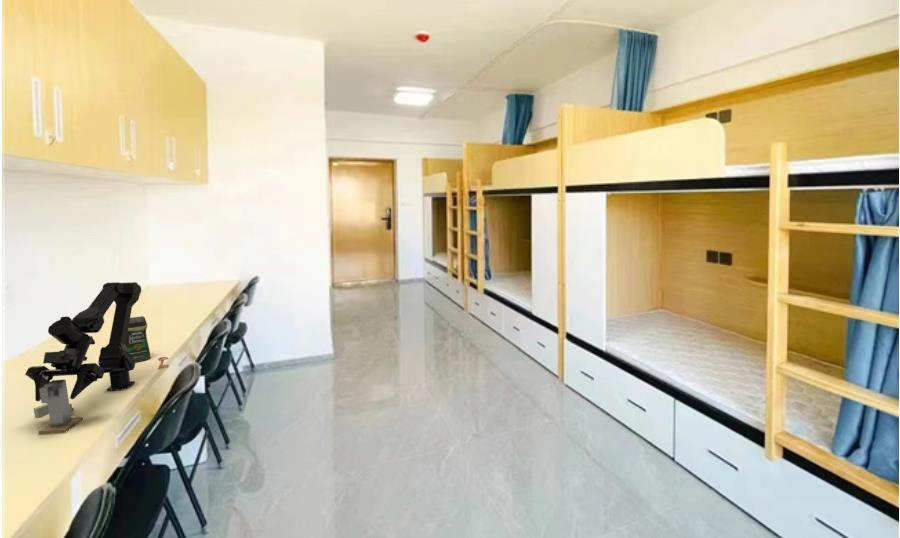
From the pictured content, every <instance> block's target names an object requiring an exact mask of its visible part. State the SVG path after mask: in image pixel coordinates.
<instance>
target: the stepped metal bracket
mask: <svg viewBox="0 0 900 538" xmlns="http://www.w3.org/2000/svg"><path fill="white" fill-rule="evenodd" d="M39 391H40V397H41V400H40V402H41V404H46V403H47V404H48V411H49V414H48V415H49V422H50V423H51V427H58V426H65V425H66V424H68V423H69V422H70V421H72V419H71V417H72V413H71V412H70V406H69V404H70V400H69V395H68V394H69V393H68V387H67V380H66V379H52V380H50V382H49V383H47V384H45V386H44V387H42V388H40V389H39ZM50 423H49V424H50Z"/></svg>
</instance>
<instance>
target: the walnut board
mask: <svg viewBox="0 0 900 538" xmlns="http://www.w3.org/2000/svg"><path fill="white" fill-rule="evenodd" d="M71 419H72V421H70V422H69V423H68V424H66V425H65V426H58V427H51V423H49V424H48V425H46V426H45V427H42V428H41V429H40V430H38V431H37V433H38V435H39V434H40V435H51V433H54V434H65V433H67V432H68V431H70V430H71V429H72V427H73V428H74V427H75V425H76V424H77V425H79V424H80V423H81V422H83V421H84V420H85V419H84V416H75V417H74V416H73V417H72V416H71ZM83 419H84V420H83ZM82 420H83V421H82ZM79 422H80V423H79ZM77 425H76V426H77ZM69 429H70V430H69ZM66 431H67V432H66ZM64 432H65V433H64Z"/></svg>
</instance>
